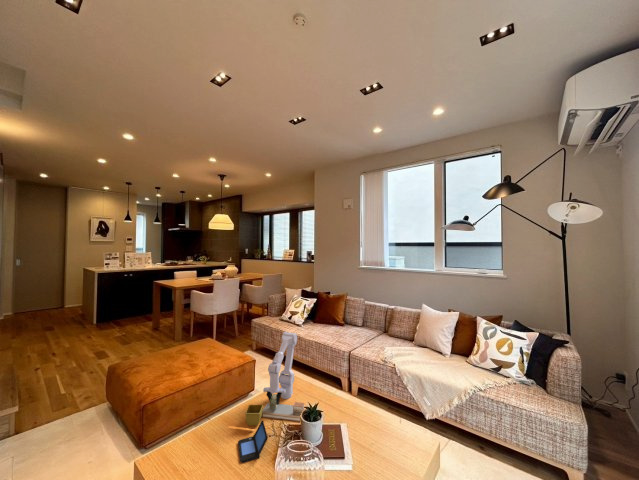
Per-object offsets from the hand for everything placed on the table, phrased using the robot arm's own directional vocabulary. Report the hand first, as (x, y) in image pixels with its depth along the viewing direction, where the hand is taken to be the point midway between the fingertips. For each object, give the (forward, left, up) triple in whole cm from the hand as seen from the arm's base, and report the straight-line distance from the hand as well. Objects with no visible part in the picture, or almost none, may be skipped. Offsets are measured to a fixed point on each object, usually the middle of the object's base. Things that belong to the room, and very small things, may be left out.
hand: (274, 403), depth 171 cm
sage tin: (0, 0, -2) cm, 2 cm away
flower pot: (+15, -7, -5) cm, 17 cm away
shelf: (+2, +8, -4) cm, 9 cm away
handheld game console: (+34, +1, -5) cm, 34 cm away
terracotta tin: (+3, +17, -3) cm, 18 cm away
